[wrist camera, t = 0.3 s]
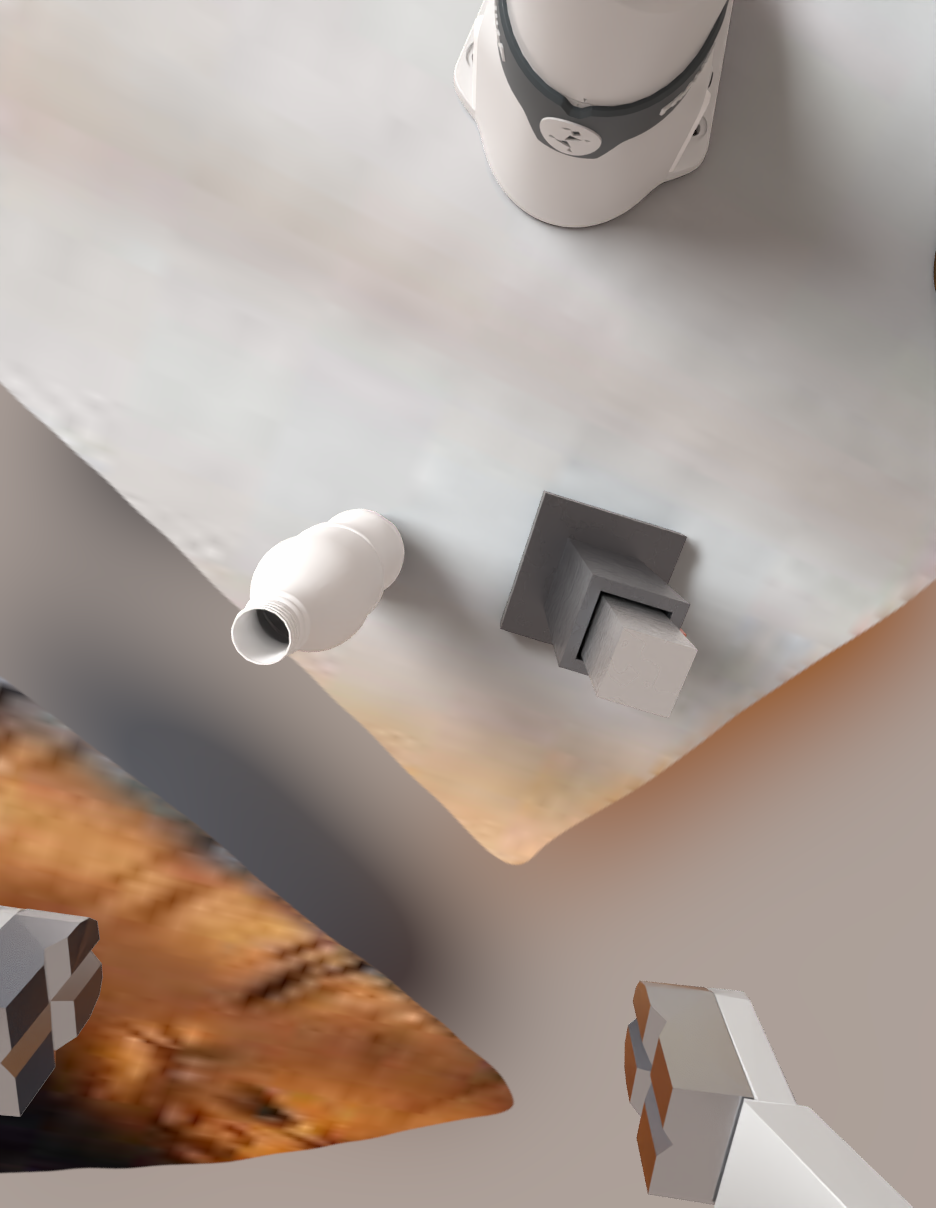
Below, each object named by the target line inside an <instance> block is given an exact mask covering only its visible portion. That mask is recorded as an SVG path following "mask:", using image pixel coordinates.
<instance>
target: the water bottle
mask: <svg viewBox="0 0 936 1208" xmlns="http://www.w3.org/2000/svg"><path fill="white" fill-rule="evenodd" d="M404 555H405V551H404V544H403V541H402V537H401V535H400V533H399V531H398V529H397V528H396V526H395V525H394V524H393V523H392V522H390V521H389V520H387V519H386V518H384V517H383V516H381V515H380V514H379V513H377V512H375V511H372V510H367V509H353V510H348V511H345V512H342V513H340V514H338V515H336V516H334V517H333V518H332V519H330V520H329V521H328V522H325V523H321V524H317V525H315V526H313V527H311V528H309V529H307V530H305V531H303V532H302V533H300V534H299V535H298V536H296V537H291V538H288V539H286V540H284V541H282V542H280V543H279V544H277V545H276V546H275V547H273V548H272V549H271V550H270V551H269V552H267V553H266V554H265V556H264V557H263V558H262V560H261V561H260V562H259V564H258V566H257V568H256V570H255V572H254V574H253V578H252V582H251V590H250V601H249V602H248V603H247V605H246V607H245V609H243V610H242V611H241V612H240V613H238V615H237V616H236V618H235V620H234V623H233V626H232V629H231V634H232V642H233V644H234V646H235V648H236V650H237V651H238V652H239V654H241V655H242V656H243V657H244V658H245V659H246V660H248V661H251V662H253V663H255V664H262V665H270V664H272V663H275V662H278V661H280V660H282V659H283V658H284V657H286V656H287V655H289V654H292V653H294V652H296V651H302V652H320V651H324V650H329V649H331V648H334V647H336V646H338V645H341V644H342V643H344V642H345V641H347V640H348V639H350V638H351V637H352V636H353V635H354V634H355V633H356V632H357V631H358V630H359V629H360V627H361V626H362V625H363V623H364V621H365V619H366V617H367V615H368V614H369V613H371V612H372V610H373V609H374V608H375V607H376V606H377V604H378V603H379V601H380V599H381V597H382V595H383V591H384V590H385V589H386V588H388V587H389V586H390V585H391V584H392V583H393V582H394V581H395V580H396V578H397V577H398V575H399V573H400V571H401V569H402V565H403V561H404Z"/></svg>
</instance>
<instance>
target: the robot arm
mask: <svg viewBox="0 0 936 1208" xmlns="http://www.w3.org/2000/svg"><path fill="white" fill-rule="evenodd" d="M733 1H734V0H484V1H483V3H482V5H481V8H480V10H479V12H478V15H477V17H476V19H475V22H474V24H473V26H472V28H471V31H470V33H469V35H468V38H467V40H466V42H465V45H464V47H463V49H462V51H461V54H460V56H459V58H458V61H457V63H456V66H455V69H454V88H455V91H456V93H457V95H458V97H459V99H460V100H461V102H462V103H463V105H464V106H465V108H466V109H467V111H468V112H469V113H470V115H471V116H472V117H473V119H474V120H475V121H476V124H477V126H478V129H479V132H480V136H481V140H482V144H483V148H484V152H485V155H486V158H487V161H488V164H489V166H490V169H491V171H492V173H493V175H494V177H495V178H496V180H497V182H498V184H499V185H500V187H501V188H502V189H503V191H504V192H505V193H506V194H507V196H508V197H509V198H510V199H511V200H512V201H513V202H514V203H515V204H516V205H517V206H518V207H520V208H521V209H522V210H524V211H525V212H526V213H528V214H529V215H531V216H533V217H535V218H537V219H539V220H541V221H544V222H546V223H549V224H553V225H557V226H563V227H587V226H593V225H597V224H601V223H604V222H607V221H609V220H612V219H614V218H616V217H618V216H620V215H621V214H623V213H625V212H626V211H628V210H629V209H631V208H632V207H634V206H635V205H636V204H637V203H639V202H640V201H641V200H642V199H643V198H644V197H645V196H646V195H647V194H649V193H650V192H651V191H652V190H653V189H654V188H656V187H657V186H658V185H660V184H661V183H663V182H666V181H669V180H672V179H675V178H678V177H681V176H683V175H686V174H688V173H690V172H692V171H693V170H695V169H696V168H698V167H699V166H700V164H701V163H702V161H703V159H704V157H705V155H706V153H707V150H708V146H709V140H710V134H711V128H712V123H713V117H714V111H715V105H716V99H717V94H718V88H719V82H720V76H721V70H722V65H723V59H724V53H725V47H726V41H727V36H728V30H729V24H730V18H731V13H732V7H733ZM696 129H697V132H698V134H697V135H696V136H692V135H693V133H694V131H695V130H696ZM99 940H100V938H99V930H98V923H97V921H96V920H94V919H91V918H88V917H81V916H74V915H67V914H60V913H53V912H46V911H39V910H32V909H20V908H13V907H7V906H0V1115H8V1116H19V1117H20V1116H21V1114H22V1113H23V1112H24V1110H25V1109H26V1107H27V1106H28V1105H29V1103H30V1102H31V1100H32V1099H33V1098H34V1096H35V1095H36V1093H37V1092H38V1091H39V1089H40V1088H41V1086H42V1085H43V1084H44V1082H45V1081H46V1079H47V1078H48V1077H49V1075H50V1074H51V1072H52V1071H53V1070H54V1068H55V1050H57V1049H58V1048H60V1047H61V1046H63V1045H64V1044H66V1043H67V1042H69V1041H71V1040H72V1039H74V1038H75V1037H77V1035H78V1034H79V1033H80V1031H81V1030H82V1028H83V1027H84V1025H85V1024H86V1022H87V1021H88V1019H89V1018H90V1016H91V1014H92V1011H93V1009H94V1006H95V1004H96V1002H97V999H98V997H99V995H100V989H101V983H102V964H101V962H100V961H99V960H98V959H97V957H96V956H95V955H94V954H93V952H92V951H91V950H92V948H93V947H94V946H95V945H96V943H97V942H98V941H99ZM633 1004H634V1008H635V1013H636V1017H637V1018H636V1019H635V1020H634V1021H633V1022H631V1023H630V1024H629V1025H628V1029H627V1034H626V1040H625V1074H626V1084H627V1090H628V1095H629V1101H630V1104H631V1105H632V1106H633V1108H634V1109H635V1110H636V1111H637V1113H638V1114H639V1115H640V1116H641V1119H640V1124H639V1129H638V1134H637V1142H638V1147H639V1152H640V1156H641V1162H642V1166H643V1172H644V1176H645V1182H646V1187H647V1191H648V1194H650V1195H656V1196H662V1197H668V1198H675V1199H681V1200H687V1201H694V1202H701V1203H706V1204H713V1205H715V1206H714V1208H913V1207H912V1206H911V1205H910V1204H909V1203H908V1202H907V1201H906V1200H905V1199H904V1198H903V1197H902V1196H901V1195H900V1194H899V1193H898V1192H897V1191H896V1190H895V1189H894V1188H893V1187H892V1186H891V1185H890V1184H889V1183H888V1182H886V1180H884V1179H883V1178H882V1177H881V1176H880V1175H879V1174H878V1173H877V1172H876V1171H875V1170H874V1169H873V1168H872V1167H871V1166H870V1165H869V1164H868V1163H867V1162H866V1161H865V1160H864V1159H862V1157H860V1155H859V1154H858V1153H857V1152H855V1151H854V1150H853V1149H852V1148H851V1147H850V1146H849V1145H848V1144H847V1143H846V1142H845V1141H844V1140H843V1139H842V1138H841V1137H840V1136H839V1135H838V1134H837V1133H836V1132H835V1131H833V1129H832V1128H831V1127H829V1126H828V1125H827V1124H826V1123H825V1122H824V1121H823V1120H822V1119H821V1118H820V1117H819V1116H818V1115H817V1114H816V1113H815V1112H814V1111H813V1110H812V1109H811V1108H810V1107H807V1106H800V1105H797V1102H796V1100H795V1098H794V1096H793V1093H792V1091H791V1089H790V1087H789V1085H788V1082H787V1080H786V1078H785V1076H784V1074H783V1071H782V1069H781V1067H780V1065H779V1063H778V1061H777V1058H776V1056H775V1054H774V1052H773V1049H772V1047H771V1045H770V1043H769V1040H768V1038H767V1036H766V1034H765V1032H764V1029H763V1027H762V1025H761V1023H760V1021H759V1019H758V1016H757V1014H756V1012H755V1010H754V1007H753V1005H752V1003H751V1001H750V999H749V997H748V996H747V995H746V994H745V993H744V992H743V991H735V990H726V989H716V988H708V989H707V988H704V987H696V986H686V985H677V984H667V983H657V982H648V981H639V983H638V985H637V986H636V990H635V994H634V998H633Z"/></svg>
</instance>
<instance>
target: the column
mask: <svg viewBox="0 0 936 1208" xmlns="http://www.w3.org/2000/svg"><path fill="white" fill-rule="evenodd" d="M579 650H580V653H581V656H582V659H583V661H584V664H585V667H586V669H587V672H588V675H589V677H590V680H591V683H592V685H593V688H594V691H595V693H596V696H597V697H599V698H603V699H606V700H609V701H613V702H616V703H619V704H623V705H626V706H629V707H633V708H636V709H639V710H643V711H646V712H649V713H653V714H656V715H659V716H662V717H666V718H669V717H670V714H671V712H672V710H673V707H674V705H675V703H676V700H677V698H678V696H679V693H680V691H681V689H682V686H683V684H684V682H685V679H686V677H687V675H688V672H689V670H690V668H691V665H692V663H693V661H694V658H695V656H696V654H697V651H698V649H697V648H696V647H695V646H694V645H693V644H692V643H691V642H690V641H689V640H688V639H687V638H686V637H685V635H684V634H683V633H682V632H681V631H680V630H679V629H678V628H677V627H676V626H675V625H674V624H673V622H672V621H671V620H670V619H669V618H668V617H667V616H666V615H665V614H664V613H663V612H662V611H661V610H660V609H659V608H656V607H653V606H650V605H646V604H643V603H640V602H637V601H633V600H630V599H627V598H623V597H620V596H617V595H614V594H610V593H607V592H604V591H600V594H599V596H598V599H597V602H596V604H595V607H594V610H593V613H592V615H591V618H590V621H589V623H588V626H587V629H586V631H585V634H584V637H583V639H582V642H581V645H580V648H579Z"/></svg>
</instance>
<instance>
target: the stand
mask: <svg viewBox="0 0 936 1208" xmlns="http://www.w3.org/2000/svg"><path fill="white" fill-rule="evenodd" d="M685 540H686V536H685V535H683V534H681V533H678V532H675V531H672V530H669V529H665V528H662V527H659V526H656V525H652V524H649V523H646V522H643V521H640V520H636V519H633V518H630V517H627V516H624V515H620V514H617V513H614V512H611V511H607V510H604V509H601V508H598V507H595V506H591V505H588V504H585V503H582V502H578V501H575V500H572V499H569V498H566V497H562V496H559V495H556V494H553V493H549V492H546V491H544V492H543V495H542V498H541V501H540V504H539V507H538V510H537V513H536V516H535V519H534V522H533V525H532V528H531V531H530V534H529V537H528V540H527V543H526V546H525V549H524V552H523V555H522V558H521V561H520V565H519V568H518V571H517V574H516V577H515V580H514V583H513V586H512V589H511V592H510V595H509V598H508V601H507V604H506V607H505V610H504V613H503V616H502V619H501V629H503V630H506V631H510V632H513V633H516V634H519V635H523V636H526V637H529V638H533V639H536V640H539V641H543V642H546V643H549V644H552V645H554V649H555V653H556V657H557V661H558V665H559V667H562V668H565V669H568V670H572V671H575V672H578V673H582V674H585V675H588V672H587V669H586V667H585V664H584V661H583V659H582V656H581V653H580V650H579V648H580V645H581V642H582V639H583V637H584V634H585V631H586V629H587V626H588V623H589V621H590V618H591V615H592V613H593V610H594V607H595V604H596V602H597V599H598V596H599V594H600V591H604V592H607V593H610V594H614V595H617V596H620V597H623V598H627V599H630V600H633V601H637V602H640V603H643V604H646V605H650V606H653V607H656V608H659V609H660V610H661V611H662V612H663V613H664V614H665V615H666V616H667V617H668V618H669V619H670V620H671V621H672V622H673V624H674V625H675V626H676V627H677V628H678V629H679V630H680V631H681V632H682V633H683V634H684V635H685V637H686V633H685V632H684V631H683V630H682V629H681V625H682V623H683V620H684V618H685V616H686V613H687V611H688V608H689V606H690V604H689V603H688V602H687V601H686V600H685V599H684V598H683V597H681V596H680V595H679V594H678V593H677V592H676V591H675V590H673V589H672V588H671V587H670V586H669V585H668V582H669V580H670V577H671V575H672V572H673V570H674V567H675V565H676V562H677V560H678V557H679V555H680V552H681V550H682V547H683V545H684V542H685ZM588 676H589V675H588Z"/></svg>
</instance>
